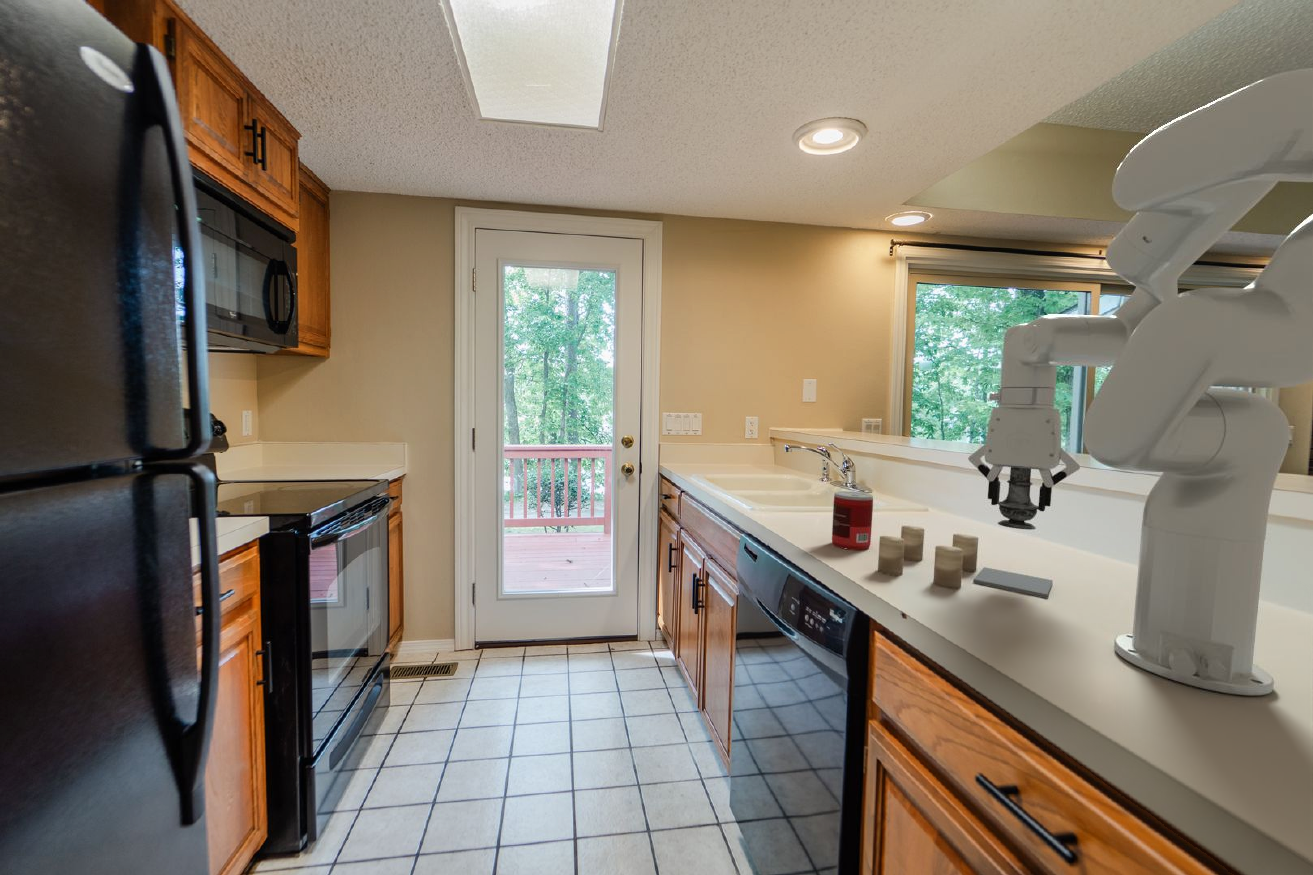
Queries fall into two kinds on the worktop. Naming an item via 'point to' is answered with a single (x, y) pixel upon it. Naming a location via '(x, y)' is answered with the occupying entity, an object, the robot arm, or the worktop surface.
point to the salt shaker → (1018, 501)
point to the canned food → (852, 520)
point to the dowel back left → (913, 542)
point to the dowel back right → (967, 550)
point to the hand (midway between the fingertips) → (1017, 506)
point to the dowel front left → (891, 555)
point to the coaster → (1014, 582)
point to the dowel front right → (948, 567)
